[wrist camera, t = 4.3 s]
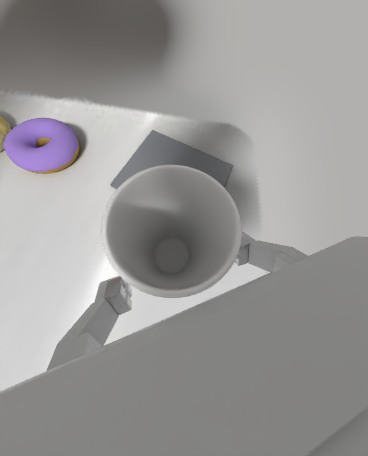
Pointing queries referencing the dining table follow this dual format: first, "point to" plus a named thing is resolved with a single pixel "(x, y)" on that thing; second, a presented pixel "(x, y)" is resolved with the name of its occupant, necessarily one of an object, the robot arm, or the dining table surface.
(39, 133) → the donut
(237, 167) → the dining table surface
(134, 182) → the drinking glass
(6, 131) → the bread roll
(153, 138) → the rubber mat
